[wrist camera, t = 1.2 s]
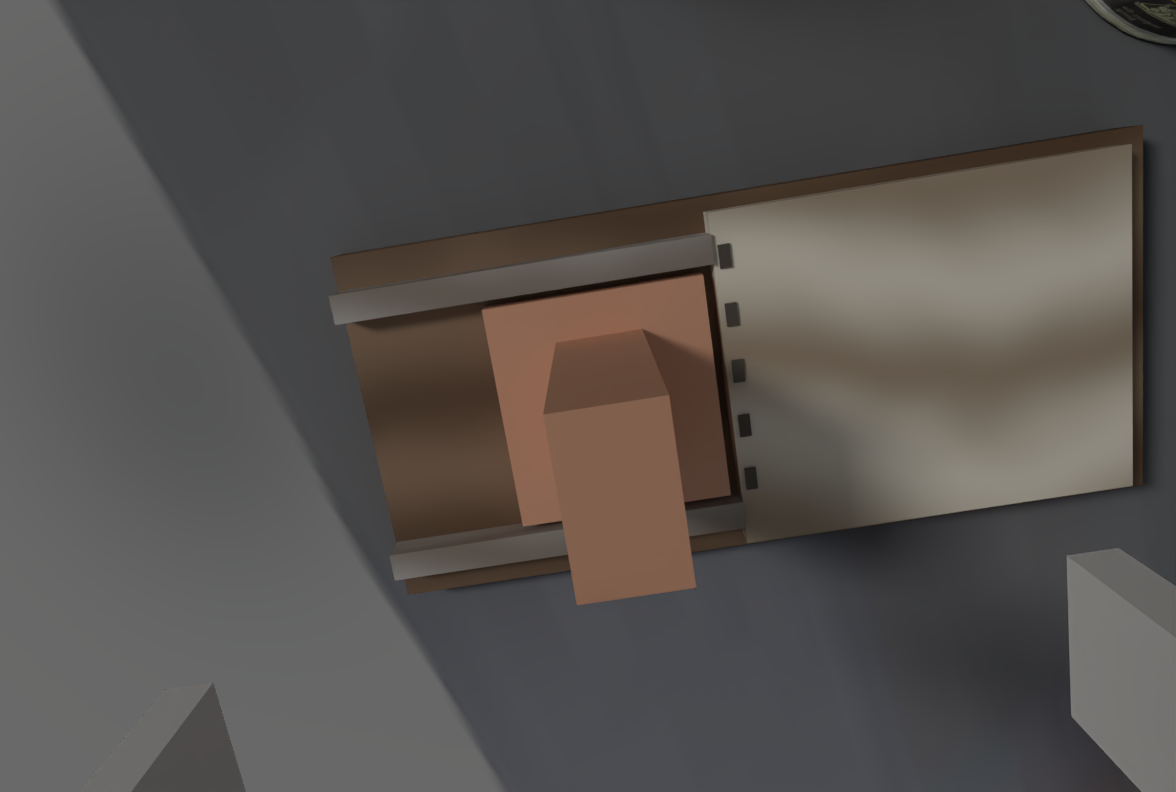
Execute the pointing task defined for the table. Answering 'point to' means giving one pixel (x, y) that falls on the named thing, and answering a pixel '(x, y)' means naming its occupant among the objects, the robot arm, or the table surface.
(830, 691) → the table surface
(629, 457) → the stub
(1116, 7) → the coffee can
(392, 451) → the board
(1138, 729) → the robot arm
